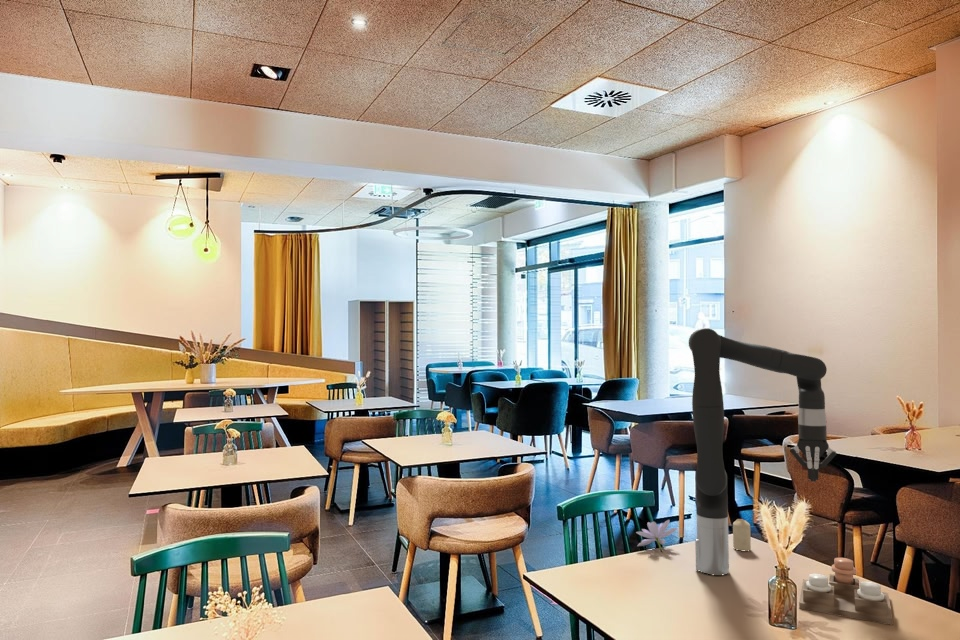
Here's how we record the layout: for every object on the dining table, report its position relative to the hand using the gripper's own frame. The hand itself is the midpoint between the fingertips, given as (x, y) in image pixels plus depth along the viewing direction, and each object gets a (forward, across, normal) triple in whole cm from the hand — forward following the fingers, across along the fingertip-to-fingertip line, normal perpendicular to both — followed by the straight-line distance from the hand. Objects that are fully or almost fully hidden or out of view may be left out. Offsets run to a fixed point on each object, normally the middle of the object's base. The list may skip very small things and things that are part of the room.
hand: (813, 480), depth 193 cm
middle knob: (+25, +7, -11) cm, 28 cm away
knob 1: (+27, +2, -21) cm, 34 cm away
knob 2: (+27, +14, -21) cm, 37 cm away
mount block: (+29, +8, -16) cm, 34 cm away
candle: (+29, -23, +18) cm, 41 cm away
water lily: (+29, -49, +6) cm, 58 cm away
